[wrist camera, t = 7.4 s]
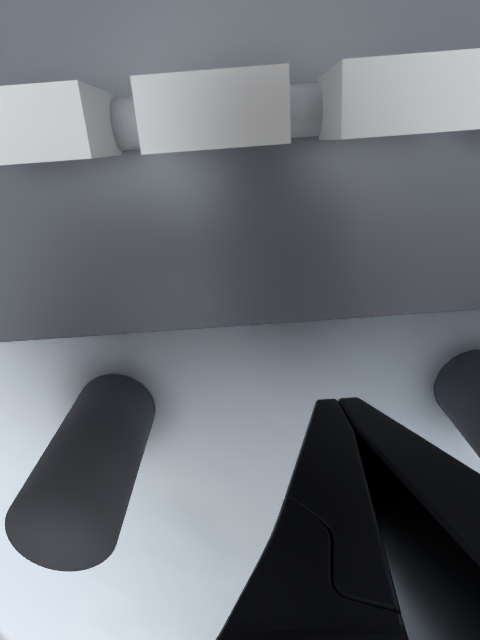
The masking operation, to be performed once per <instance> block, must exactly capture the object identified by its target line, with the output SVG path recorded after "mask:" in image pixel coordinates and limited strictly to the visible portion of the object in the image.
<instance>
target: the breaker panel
mask: <svg viewBox="0 0 480 640" xmlns="http://www.w3.org/2000/svg"><path fill="white" fill-rule="evenodd" d="M475 48H480V0H0V86H5V85H18V84H30V83H43V82H56V81H68V80H79V81H81V82H84V83H87V84H89V85H92V86H94V87H97V88H99V89H102V90H104V91H107V92H109V93H112V94H113V98H124V97H133V94H132V87H131V80H130V76H132V75H145V74H157V73H170V72H183V71H195V70H208V69H221V68H233V67H246V66H259V65H272V64H284V63H289V80H290V85H291V84H304V83H316V82H318V78H319V77H320V76H321V75H323V74H324V73H325V72H326V71H328V70H329V69H330V68H332V67H333V66H334V65H335V64H337V63H338V62H339V61H341V60H342V59H348V58H360V57H373V56H386V55H399V54H411V53H424V52H437V51H449V50H462V49H475ZM475 309H480V129H476V130H463V131H449V132H436V133H423V134H410V135H397V136H383V137H370V138H357V139H344V140H319V136H312V137H299V138H291V144H278V145H264V146H251V147H238V148H225V149H212V150H198V151H185V152H172V153H159V154H146V155H141V150H128V151H122V155H119V156H110V157H101V158H92V159H79V160H66V161H53V162H40V163H27V164H13V165H0V342H10V341H25V340H39V339H54V338H68V337H83V336H97V335H112V334H126V333H141V332H155V331H170V330H184V329H199V328H214V327H228V326H243V325H257V324H272V323H286V322H301V321H315V320H330V319H344V318H359V317H373V316H388V315H402V314H417V313H432V312H446V311H461V310H475Z"/></svg>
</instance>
